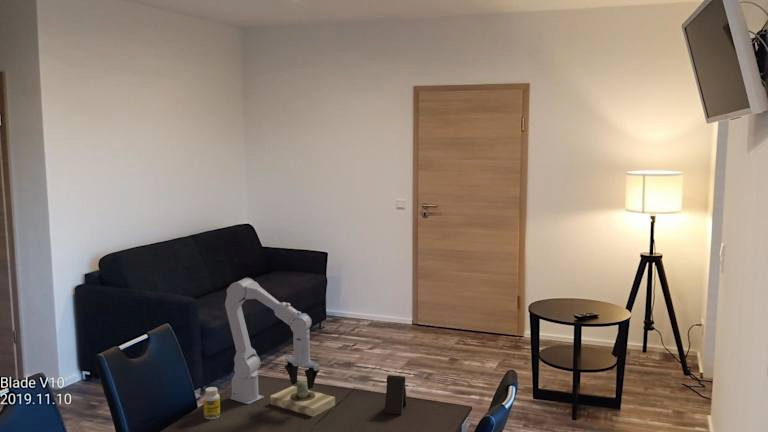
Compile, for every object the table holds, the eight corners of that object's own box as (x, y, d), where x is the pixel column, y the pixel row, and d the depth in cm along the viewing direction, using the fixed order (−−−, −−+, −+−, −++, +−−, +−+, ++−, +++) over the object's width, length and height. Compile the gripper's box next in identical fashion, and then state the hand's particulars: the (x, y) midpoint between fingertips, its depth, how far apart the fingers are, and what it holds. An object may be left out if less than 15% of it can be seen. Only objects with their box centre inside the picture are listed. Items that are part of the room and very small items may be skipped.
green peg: (294, 405, 238) (294, 383, 237) (302, 401, 242) (301, 380, 241) (303, 407, 236) (302, 385, 235) (310, 404, 239) (310, 382, 238)
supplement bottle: (206, 421, 225) (205, 392, 224) (202, 415, 230) (201, 387, 229) (222, 417, 228) (221, 390, 227) (218, 412, 233) (217, 385, 232)
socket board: (270, 404, 240) (270, 395, 239) (293, 393, 249) (292, 385, 249) (313, 416, 228) (313, 407, 228) (335, 405, 238) (335, 396, 238)
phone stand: (401, 415, 229) (401, 381, 228) (384, 413, 231) (384, 379, 229) (407, 405, 238) (407, 372, 237) (391, 403, 239) (390, 371, 238)
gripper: (278, 348, 237) (279, 385, 239) (309, 355, 229) (310, 393, 231) (292, 343, 243) (292, 379, 245) (323, 350, 235) (323, 387, 237)
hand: (302, 386), depth 238 cm, fingers open, 7 cm apart
